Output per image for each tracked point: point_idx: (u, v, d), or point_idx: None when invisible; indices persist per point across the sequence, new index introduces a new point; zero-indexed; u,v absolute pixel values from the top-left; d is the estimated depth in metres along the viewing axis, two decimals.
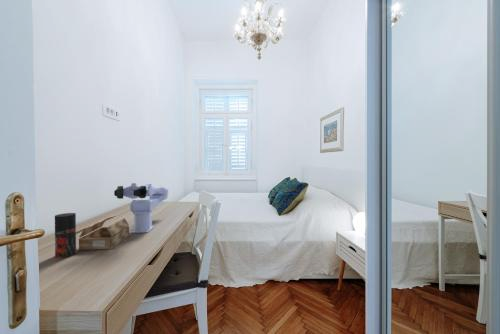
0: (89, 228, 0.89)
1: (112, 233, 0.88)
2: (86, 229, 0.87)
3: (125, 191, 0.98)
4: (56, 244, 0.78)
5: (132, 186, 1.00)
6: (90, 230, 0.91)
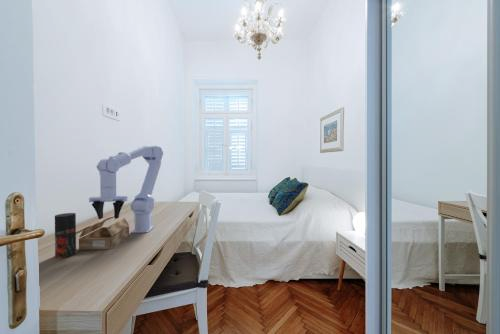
0: (89, 228, 0.89)
1: (112, 233, 0.88)
2: (86, 229, 0.87)
3: (100, 201, 0.93)
4: (56, 244, 0.78)
5: (104, 199, 0.91)
6: (90, 230, 0.91)
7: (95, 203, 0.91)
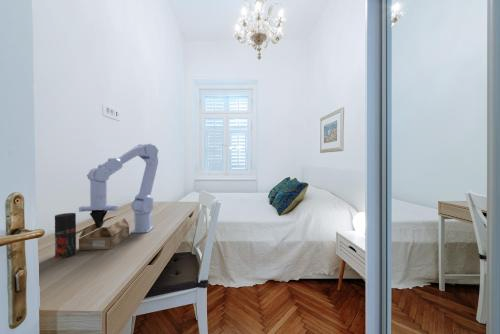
0: (89, 228, 0.89)
1: (112, 233, 0.88)
2: (86, 229, 0.87)
3: None
4: (56, 244, 0.78)
5: None
6: (90, 230, 0.91)
7: (93, 212, 0.91)
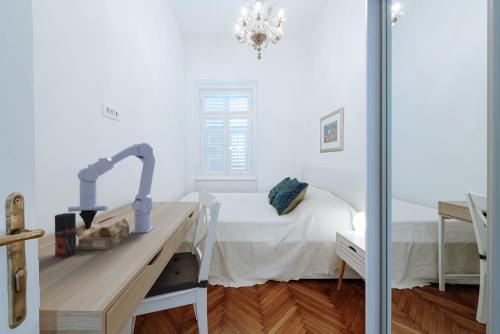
0: (80, 229, 0.89)
1: (112, 233, 0.88)
2: (76, 230, 0.87)
3: None
4: (56, 244, 0.78)
5: (83, 209, 0.90)
6: (86, 230, 0.91)
7: (82, 213, 0.91)
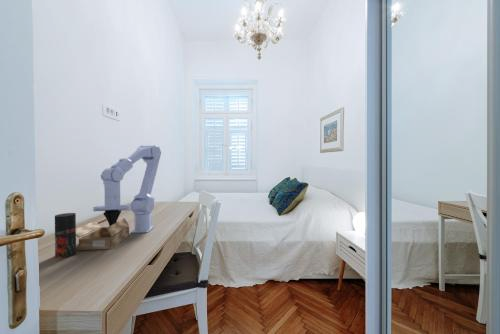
0: (79, 230, 0.89)
1: (112, 233, 0.88)
2: None
3: (105, 211, 0.93)
4: (56, 244, 0.78)
5: None
6: (86, 230, 0.91)
7: (107, 212, 0.92)
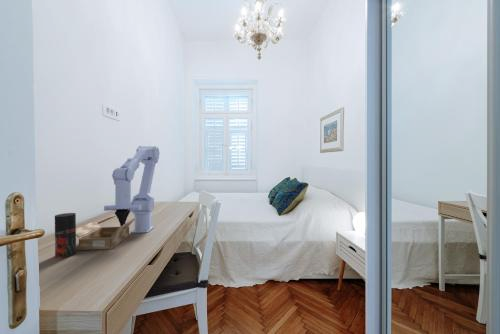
0: (79, 230, 0.89)
1: (115, 234, 0.88)
2: None
3: None
4: (56, 244, 0.78)
5: None
6: (86, 230, 0.91)
7: (118, 212, 0.92)
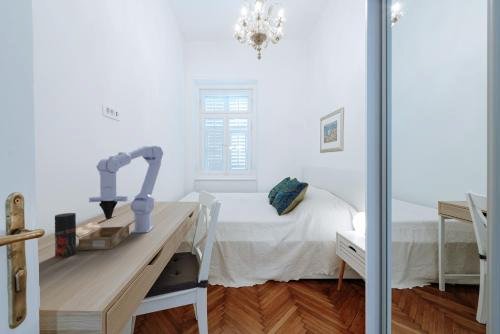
0: (79, 230, 0.89)
1: (115, 234, 0.88)
2: None
3: (100, 201, 0.93)
4: (56, 244, 0.78)
5: (104, 199, 0.91)
6: (86, 230, 0.91)
7: (102, 203, 0.92)
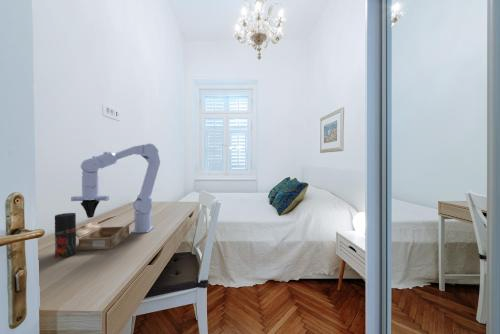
0: (79, 230, 0.89)
1: (115, 234, 0.88)
2: None
3: (82, 200, 0.95)
4: (56, 244, 0.78)
5: None
6: (86, 230, 0.91)
7: (84, 202, 0.94)
